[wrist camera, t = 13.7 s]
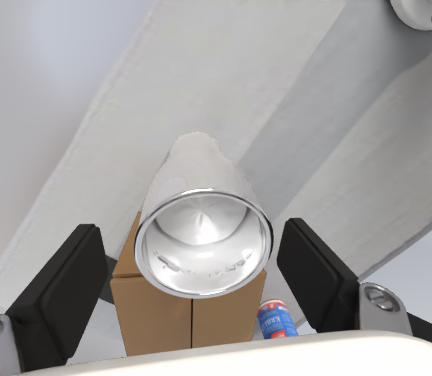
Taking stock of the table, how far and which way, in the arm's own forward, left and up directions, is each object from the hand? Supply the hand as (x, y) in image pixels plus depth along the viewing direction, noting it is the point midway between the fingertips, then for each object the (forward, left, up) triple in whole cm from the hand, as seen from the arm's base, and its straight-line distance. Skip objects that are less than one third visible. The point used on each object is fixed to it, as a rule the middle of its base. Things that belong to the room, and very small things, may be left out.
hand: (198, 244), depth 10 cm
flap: (+14, +3, -4) cm, 15 cm away
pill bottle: (+28, +14, -14) cm, 34 cm away
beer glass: (0, 0, -14) cm, 14 cm away
